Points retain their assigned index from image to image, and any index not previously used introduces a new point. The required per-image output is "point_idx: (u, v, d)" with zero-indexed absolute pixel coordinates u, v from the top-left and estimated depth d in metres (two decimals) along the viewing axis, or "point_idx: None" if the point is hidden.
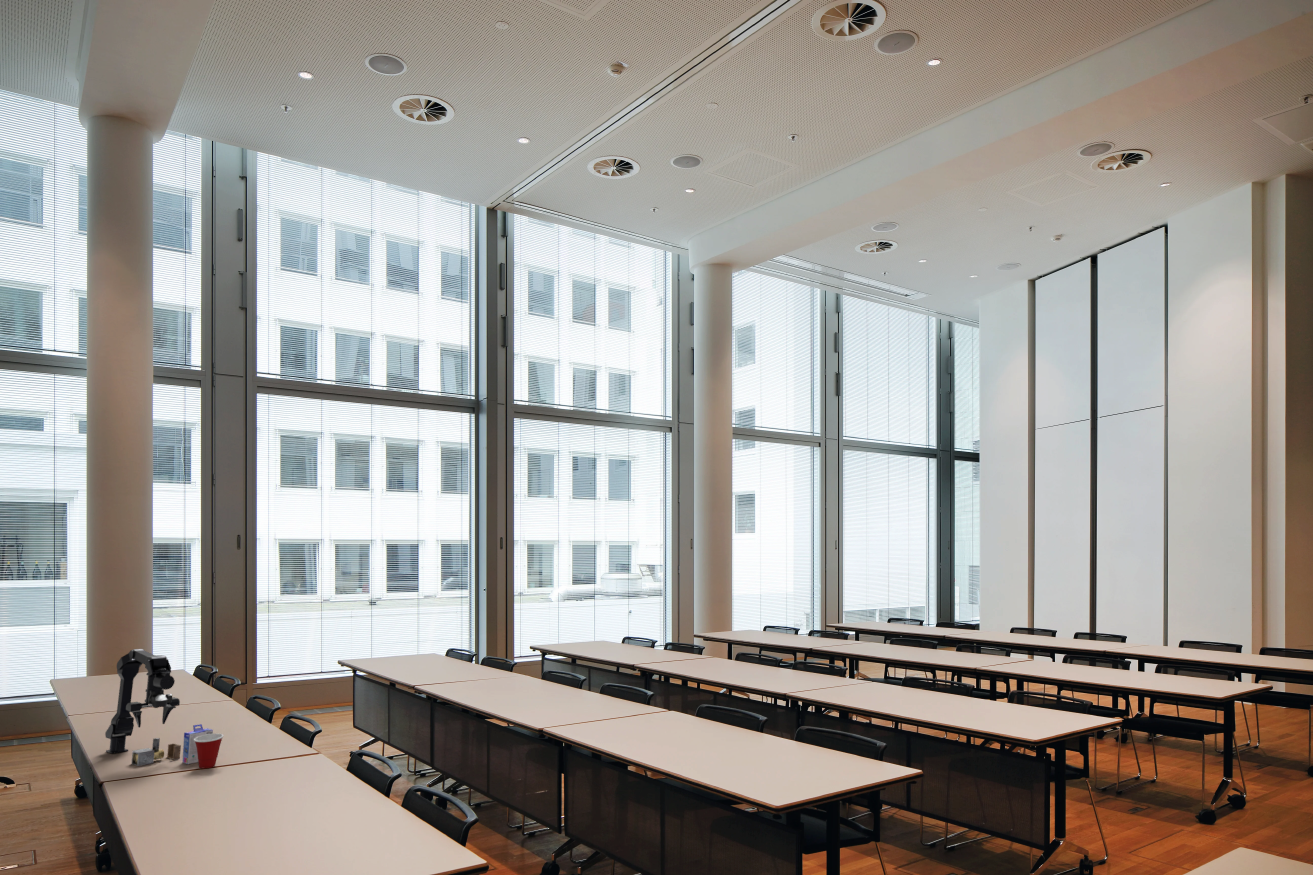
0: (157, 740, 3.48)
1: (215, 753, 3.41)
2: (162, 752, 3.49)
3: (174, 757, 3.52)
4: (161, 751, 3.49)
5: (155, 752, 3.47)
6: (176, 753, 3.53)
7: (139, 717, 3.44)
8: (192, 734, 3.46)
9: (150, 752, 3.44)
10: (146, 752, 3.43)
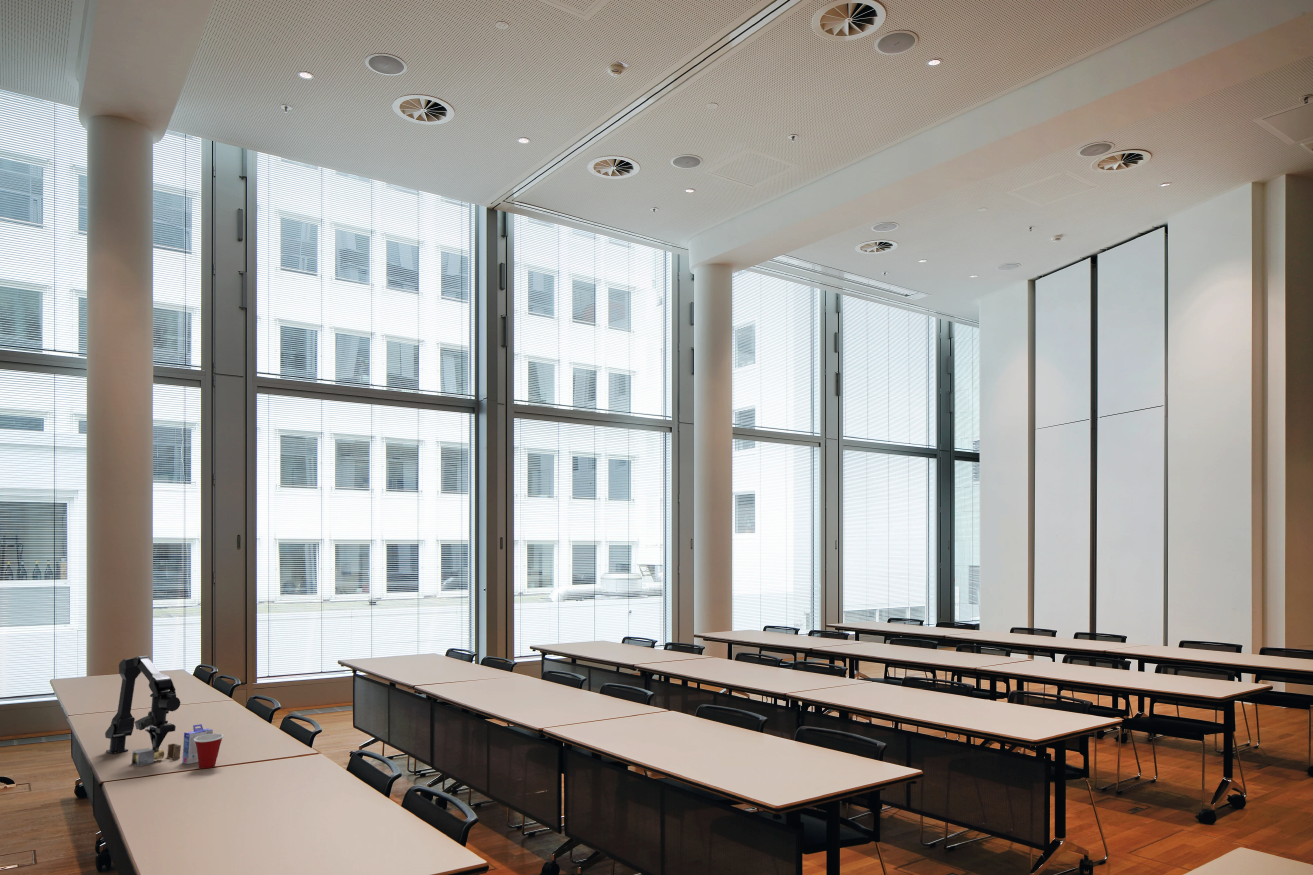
0: None
1: (215, 753, 3.41)
2: (162, 752, 3.49)
3: (174, 757, 3.52)
4: (161, 751, 3.49)
5: (155, 752, 3.47)
6: (176, 753, 3.53)
7: (151, 736, 3.50)
8: (192, 734, 3.46)
9: (150, 752, 3.44)
10: (146, 752, 3.43)
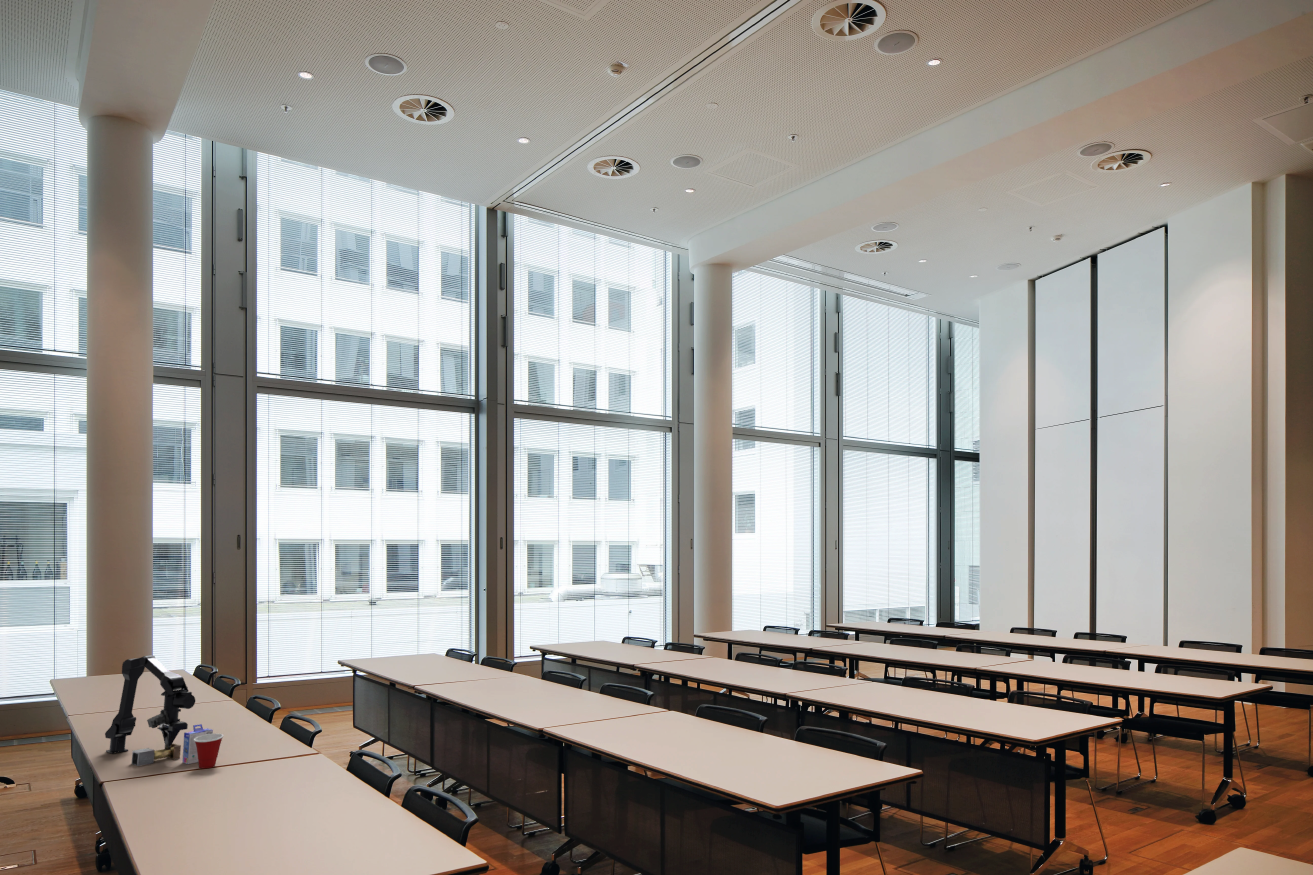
0: None
1: (215, 753, 3.41)
2: None
3: (174, 757, 3.52)
4: (173, 749, 3.53)
5: (167, 750, 3.51)
6: (176, 753, 3.53)
7: (163, 734, 3.54)
8: (192, 734, 3.46)
9: (150, 752, 3.44)
10: (146, 752, 3.43)
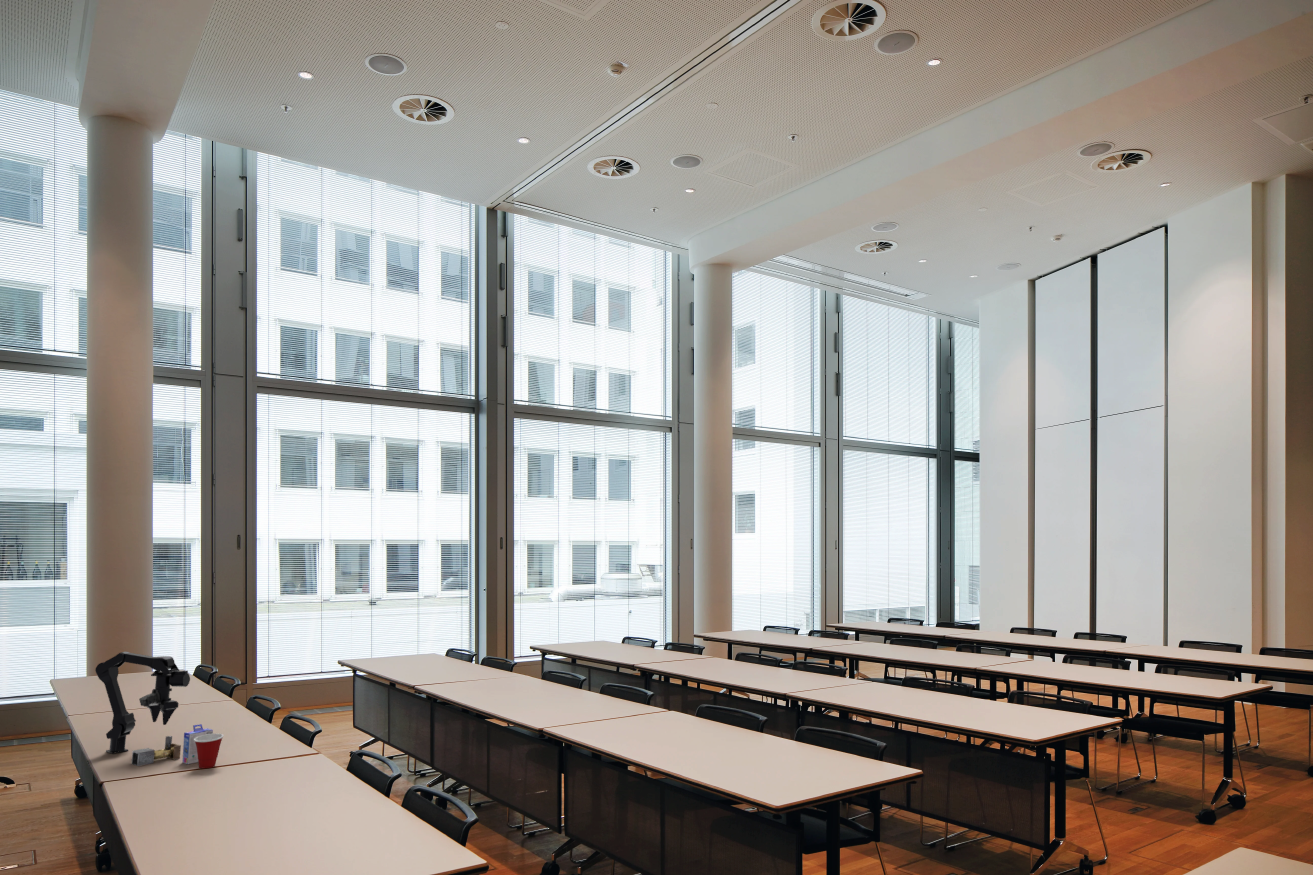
0: (170, 738, 3.53)
1: (215, 753, 3.41)
2: None
3: (174, 757, 3.52)
4: (173, 749, 3.53)
5: (168, 750, 3.52)
6: (176, 753, 3.53)
7: (151, 711, 3.67)
8: (192, 734, 3.46)
9: (150, 752, 3.44)
10: (146, 752, 3.43)
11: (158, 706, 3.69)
